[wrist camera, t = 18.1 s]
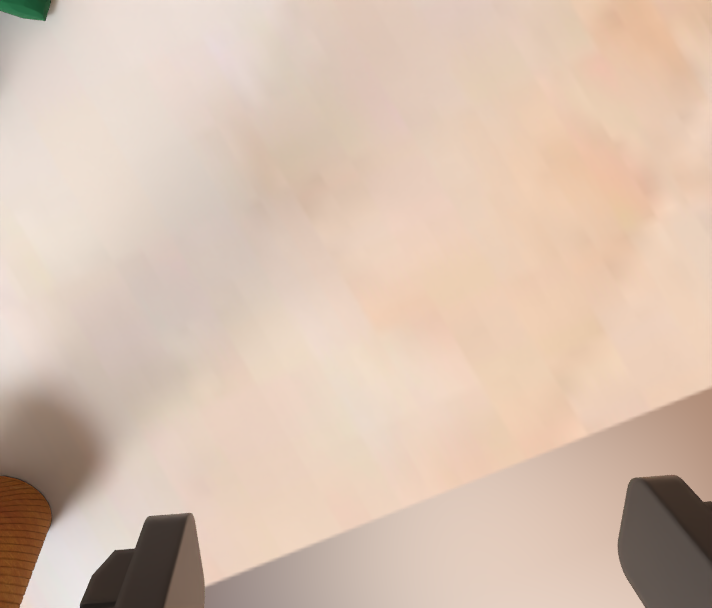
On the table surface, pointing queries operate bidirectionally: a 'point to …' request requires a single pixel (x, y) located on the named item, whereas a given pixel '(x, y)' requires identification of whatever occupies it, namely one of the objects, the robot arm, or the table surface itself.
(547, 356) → the table surface
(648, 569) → the robot arm
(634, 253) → the table surface
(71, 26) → the table surface
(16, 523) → the disposable coffee cup
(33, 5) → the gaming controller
